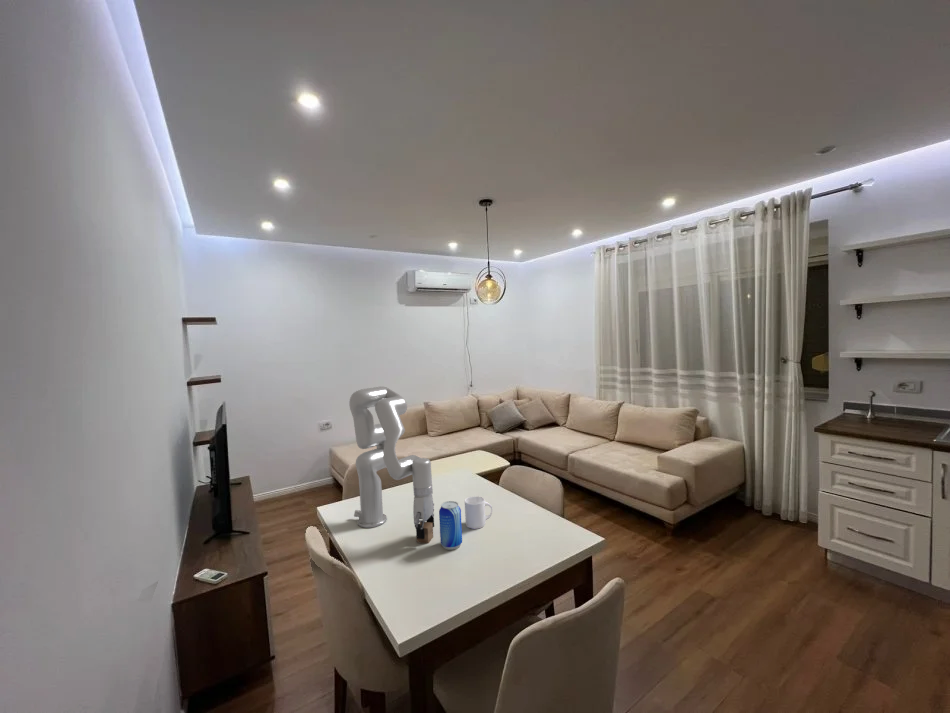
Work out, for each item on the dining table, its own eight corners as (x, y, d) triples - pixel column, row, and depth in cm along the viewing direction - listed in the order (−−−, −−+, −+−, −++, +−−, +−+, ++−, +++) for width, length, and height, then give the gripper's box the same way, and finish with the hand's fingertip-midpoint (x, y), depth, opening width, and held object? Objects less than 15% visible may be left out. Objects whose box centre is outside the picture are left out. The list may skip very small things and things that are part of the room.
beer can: (436, 546, 149) (434, 505, 149) (451, 537, 156) (450, 498, 155) (451, 553, 144) (449, 511, 143) (466, 544, 150) (465, 503, 149)
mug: (495, 526, 164) (494, 501, 163) (468, 530, 161) (467, 505, 160) (489, 517, 172) (488, 493, 172) (463, 521, 169) (462, 497, 168)
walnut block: (416, 542, 153) (416, 527, 153) (421, 535, 158) (421, 521, 158) (428, 543, 152) (427, 528, 152) (433, 537, 157) (432, 522, 156)
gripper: (423, 482, 164) (425, 522, 164) (404, 498, 147) (407, 542, 147) (439, 483, 161) (442, 523, 162) (422, 499, 145) (425, 544, 145)
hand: (425, 532), depth 155 cm, fingers open, 9 cm apart
